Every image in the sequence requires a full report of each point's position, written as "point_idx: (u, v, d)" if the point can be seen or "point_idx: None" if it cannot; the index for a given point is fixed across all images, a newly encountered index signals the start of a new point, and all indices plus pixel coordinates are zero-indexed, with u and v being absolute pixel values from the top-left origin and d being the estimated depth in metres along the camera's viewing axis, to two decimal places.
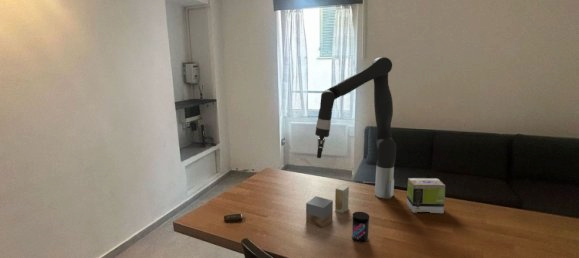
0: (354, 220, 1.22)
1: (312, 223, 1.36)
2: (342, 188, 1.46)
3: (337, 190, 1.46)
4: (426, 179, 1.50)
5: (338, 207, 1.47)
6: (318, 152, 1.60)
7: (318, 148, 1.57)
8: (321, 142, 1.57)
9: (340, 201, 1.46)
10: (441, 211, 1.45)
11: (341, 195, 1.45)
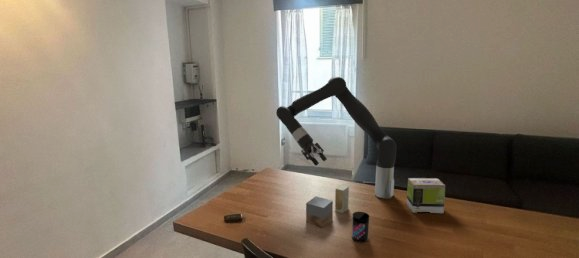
0: (354, 220, 1.22)
1: (312, 223, 1.36)
2: (342, 188, 1.46)
3: (337, 190, 1.46)
4: (426, 179, 1.50)
5: (338, 207, 1.47)
6: (311, 160, 1.49)
7: (306, 157, 1.48)
8: (303, 151, 1.48)
9: (340, 201, 1.46)
10: (441, 211, 1.45)
11: (341, 195, 1.45)
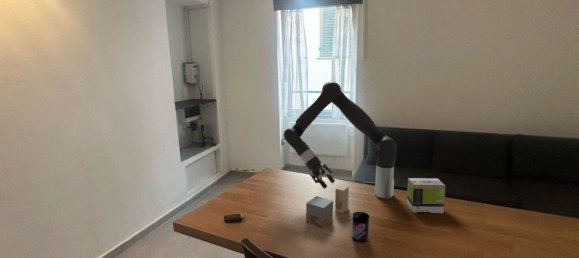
0: (354, 220, 1.22)
1: (312, 223, 1.36)
2: (342, 188, 1.46)
3: (337, 190, 1.46)
4: (426, 179, 1.50)
5: (338, 207, 1.47)
6: (320, 183, 1.48)
7: (314, 180, 1.48)
8: (312, 174, 1.48)
9: (340, 201, 1.46)
10: (441, 211, 1.45)
11: (341, 195, 1.45)
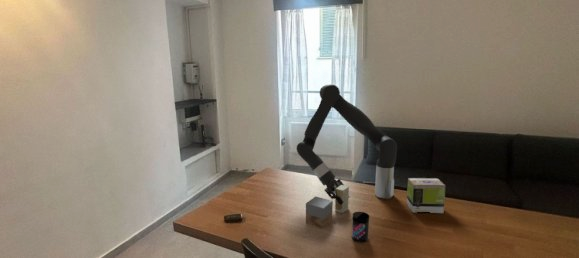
0: (354, 220, 1.22)
1: (312, 223, 1.36)
2: (342, 188, 1.46)
3: (337, 190, 1.46)
4: (426, 179, 1.50)
5: (338, 207, 1.47)
6: (336, 199, 1.45)
7: (330, 197, 1.45)
8: (327, 190, 1.45)
9: None
10: (441, 211, 1.45)
11: (341, 195, 1.45)
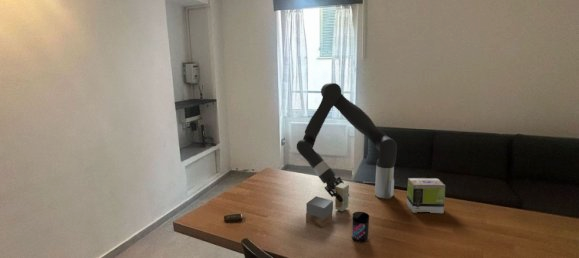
0: (354, 220, 1.22)
1: (312, 223, 1.36)
2: (342, 186, 1.46)
3: (337, 188, 1.46)
4: (426, 179, 1.50)
5: (338, 205, 1.47)
6: (336, 197, 1.45)
7: (330, 194, 1.45)
8: (327, 188, 1.44)
9: None
10: (441, 211, 1.45)
11: (341, 193, 1.44)
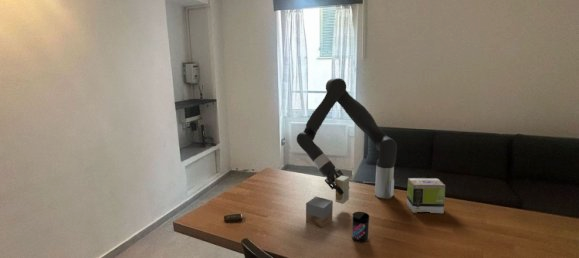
0: (354, 220, 1.22)
1: (312, 223, 1.36)
2: (342, 178, 1.45)
3: (337, 180, 1.45)
4: (426, 179, 1.50)
5: (338, 197, 1.46)
6: None
7: (330, 187, 1.44)
8: (327, 180, 1.44)
9: None
10: (441, 211, 1.45)
11: (342, 185, 1.44)
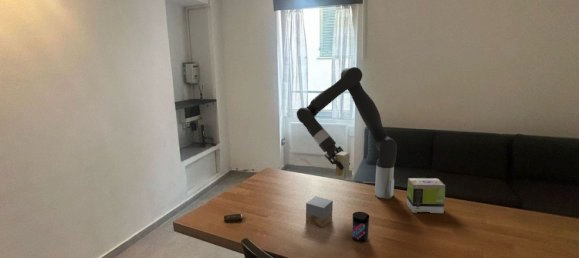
0: (354, 220, 1.22)
1: (312, 223, 1.36)
2: (343, 153, 1.43)
3: (338, 155, 1.42)
4: (426, 179, 1.50)
5: (339, 173, 1.44)
6: None
7: None
8: (327, 155, 1.41)
9: None
10: (441, 211, 1.45)
11: (342, 160, 1.41)
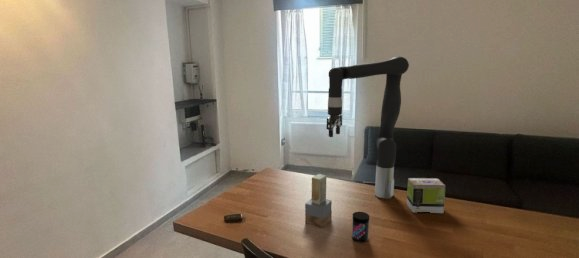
0: (354, 220, 1.22)
1: (311, 223, 1.36)
2: (319, 177, 1.34)
3: (313, 179, 1.33)
4: (426, 179, 1.50)
5: (314, 197, 1.35)
6: None
7: None
8: (329, 120, 1.54)
9: (317, 192, 1.33)
10: (441, 211, 1.45)
11: (318, 184, 1.32)
